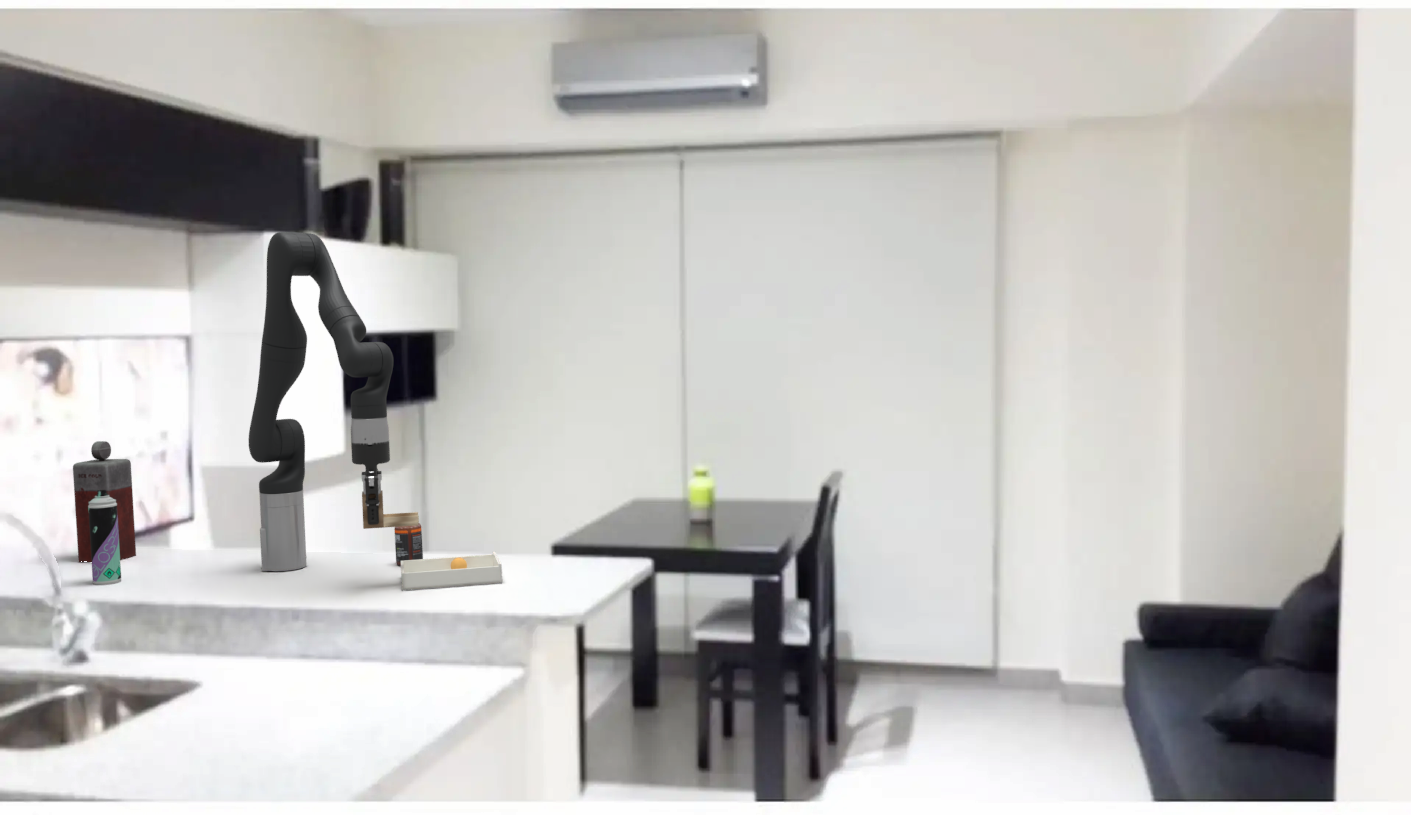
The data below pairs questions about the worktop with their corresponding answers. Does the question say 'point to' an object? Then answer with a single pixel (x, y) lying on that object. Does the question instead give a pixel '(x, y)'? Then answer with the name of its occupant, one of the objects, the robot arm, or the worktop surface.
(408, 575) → the tray
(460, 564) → the ball
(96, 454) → the red and grey canister
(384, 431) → the robot arm
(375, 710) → the worktop surface
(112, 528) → the spray can
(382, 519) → the scoop
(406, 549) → the supplement bottle
